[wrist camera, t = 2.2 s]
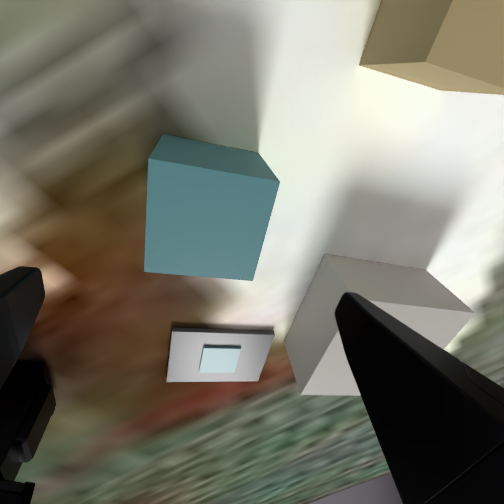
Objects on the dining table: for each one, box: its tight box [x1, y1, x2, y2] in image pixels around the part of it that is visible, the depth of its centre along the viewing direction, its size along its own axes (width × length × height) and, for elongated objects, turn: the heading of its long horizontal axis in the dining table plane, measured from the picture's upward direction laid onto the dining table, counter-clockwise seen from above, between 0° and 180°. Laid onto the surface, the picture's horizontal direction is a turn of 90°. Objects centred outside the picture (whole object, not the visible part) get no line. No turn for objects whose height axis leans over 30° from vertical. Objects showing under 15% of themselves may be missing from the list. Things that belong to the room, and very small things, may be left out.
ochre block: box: [359, 0, 504, 95], centre depth 11 cm, size 5×5×5 cm
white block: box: [284, 254, 475, 395], centre depth 21 cm, size 9×9×5 cm
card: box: [167, 327, 275, 382], centre depth 23 cm, size 8×6×1 cm
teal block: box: [144, 134, 280, 281], centre depth 14 cm, size 5×5×5 cm
